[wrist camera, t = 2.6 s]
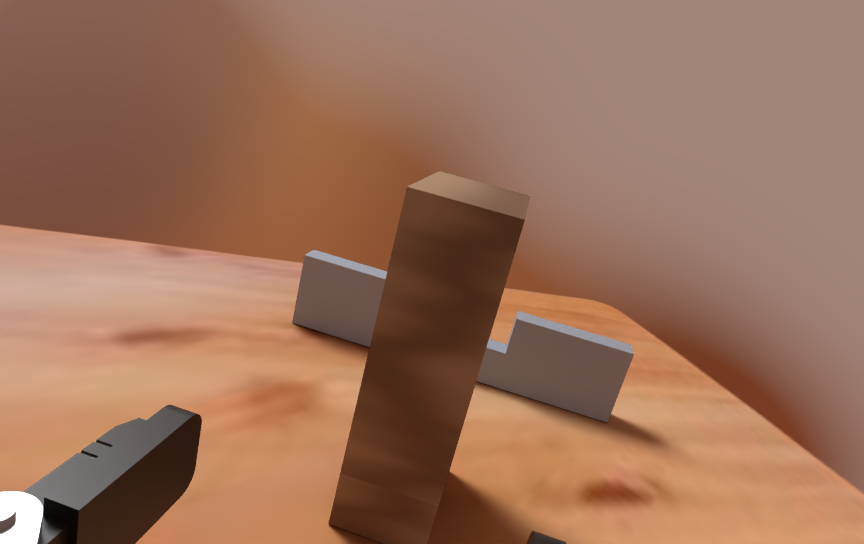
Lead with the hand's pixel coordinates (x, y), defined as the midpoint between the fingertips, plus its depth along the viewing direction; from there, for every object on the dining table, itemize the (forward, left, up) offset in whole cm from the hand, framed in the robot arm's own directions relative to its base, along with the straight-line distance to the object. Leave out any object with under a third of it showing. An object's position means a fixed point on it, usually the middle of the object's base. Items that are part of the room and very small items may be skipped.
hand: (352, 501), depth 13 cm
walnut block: (0, +11, -8) cm, 13 cm away
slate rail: (0, +25, -8) cm, 26 cm away
